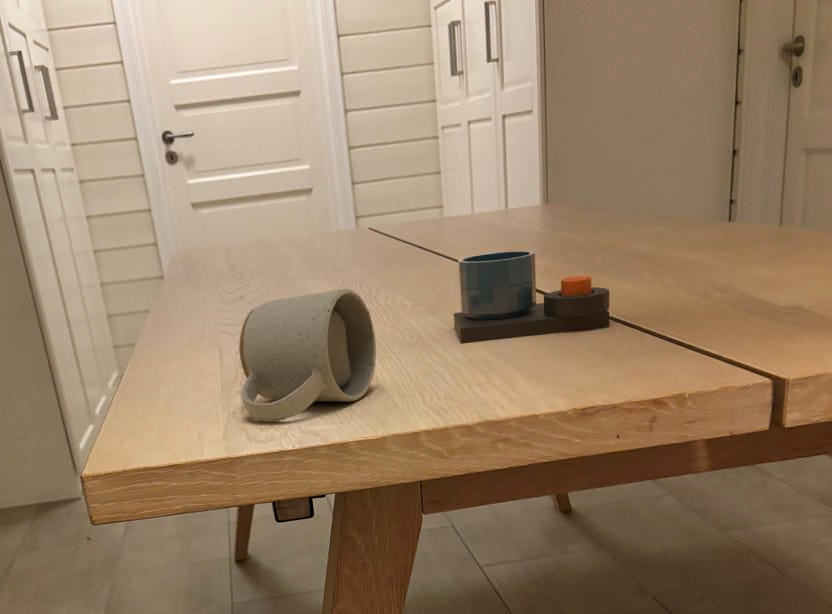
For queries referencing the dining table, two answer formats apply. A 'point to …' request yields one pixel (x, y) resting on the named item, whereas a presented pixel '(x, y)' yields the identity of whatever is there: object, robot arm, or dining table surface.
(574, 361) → the dining table surface
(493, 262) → the bowl
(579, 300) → the dark piece
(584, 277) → the button
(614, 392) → the dining table surface
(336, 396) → the ceramic mug
